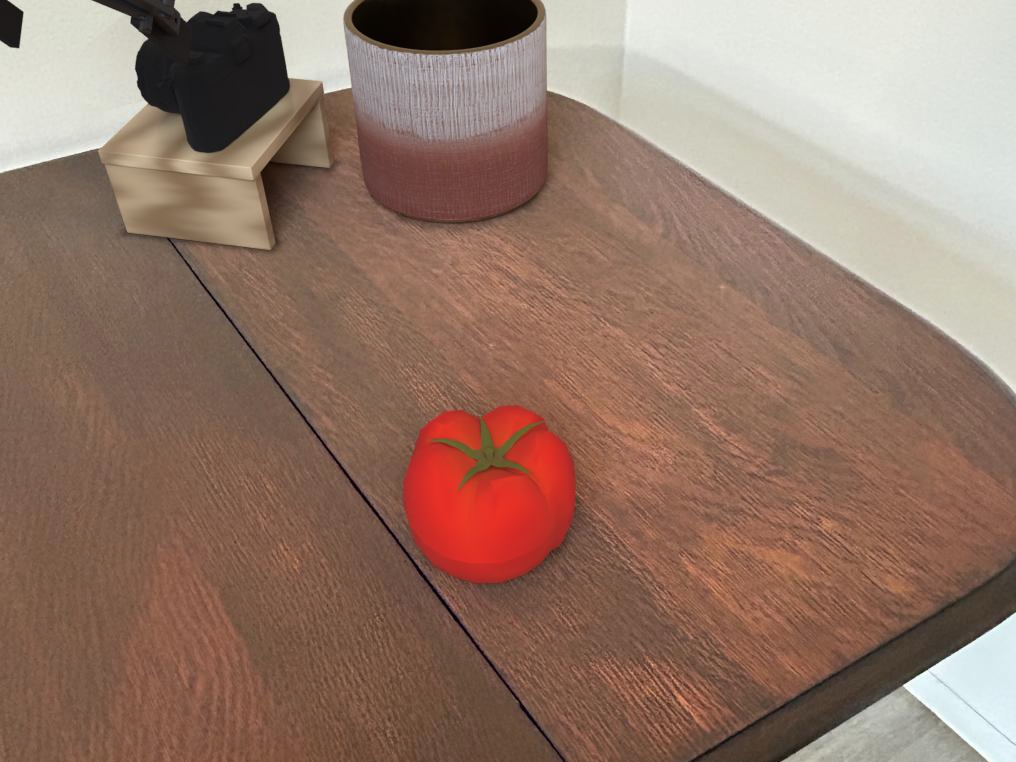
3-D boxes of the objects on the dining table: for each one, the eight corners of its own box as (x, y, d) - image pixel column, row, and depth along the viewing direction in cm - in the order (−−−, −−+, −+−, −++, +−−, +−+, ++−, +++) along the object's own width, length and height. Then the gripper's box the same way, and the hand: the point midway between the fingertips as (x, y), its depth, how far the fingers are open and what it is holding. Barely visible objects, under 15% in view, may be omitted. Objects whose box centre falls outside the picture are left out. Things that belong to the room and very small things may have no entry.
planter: (379, 137, 106) (358, -28, 94) (550, 140, 105) (551, -26, 93) (350, 229, 94) (323, 53, 82) (544, 232, 93) (544, 56, 82)
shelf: (125, 234, 93) (97, 150, 87) (205, 147, 104) (185, 67, 98) (269, 252, 91) (250, 167, 85) (335, 161, 102) (322, 80, 96)
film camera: (213, 72, 98) (189, -30, 91) (303, 86, 96) (286, -17, 89) (120, 143, 88) (85, 35, 81) (218, 161, 86) (191, 51, 79)
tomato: (394, 601, 64) (377, 500, 57) (433, 470, 72) (422, 367, 65) (562, 619, 63) (565, 518, 56) (583, 484, 71) (588, 382, 64)
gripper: (-333, -86, 57) (-57, 73, 78) (78, -51, 53) (251, 105, 74) (-320, -225, 56) (-45, -28, 77) (96, -199, 53) (265, 0, 74)
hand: (100, 38), depth 76 cm, fingers open, 13 cm apart
